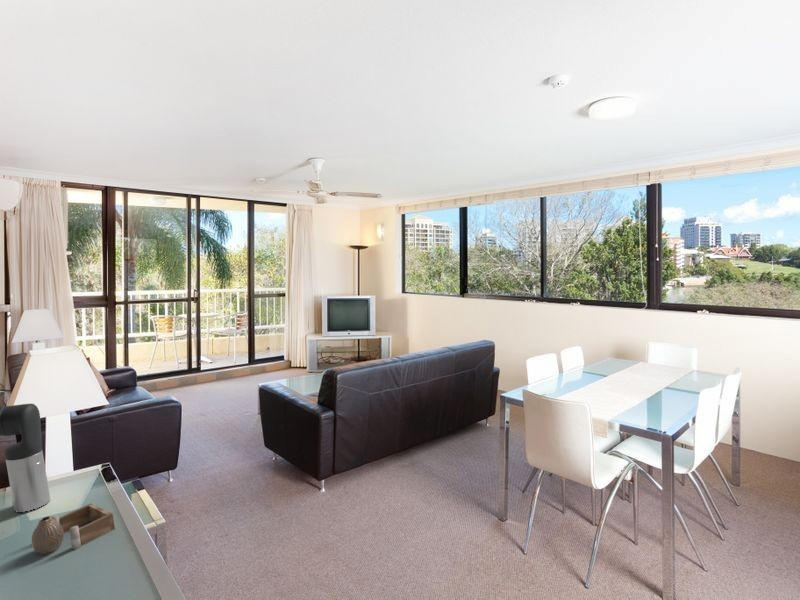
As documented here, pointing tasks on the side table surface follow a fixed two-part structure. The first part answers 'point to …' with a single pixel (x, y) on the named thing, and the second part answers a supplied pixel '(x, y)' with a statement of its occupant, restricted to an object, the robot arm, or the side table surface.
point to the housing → (90, 531)
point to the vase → (47, 536)
